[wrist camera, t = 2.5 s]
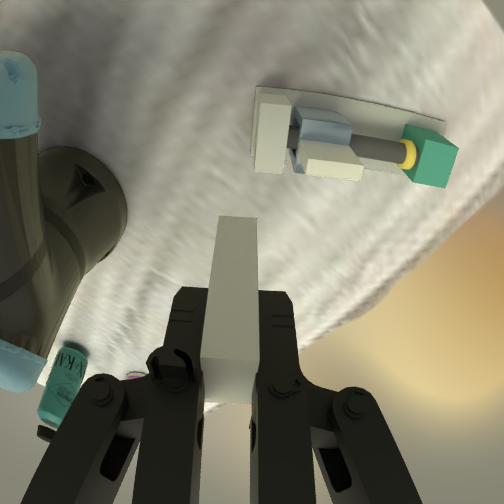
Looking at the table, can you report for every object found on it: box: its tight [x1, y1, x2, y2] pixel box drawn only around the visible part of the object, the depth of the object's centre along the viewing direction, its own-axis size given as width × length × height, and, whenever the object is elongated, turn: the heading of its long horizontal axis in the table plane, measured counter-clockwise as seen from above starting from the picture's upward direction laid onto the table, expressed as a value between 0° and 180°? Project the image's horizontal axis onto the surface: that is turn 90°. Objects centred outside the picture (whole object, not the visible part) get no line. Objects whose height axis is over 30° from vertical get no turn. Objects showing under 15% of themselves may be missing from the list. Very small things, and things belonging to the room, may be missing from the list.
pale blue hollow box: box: [289, 106, 364, 181], centre depth 24 cm, size 4×5×9 cm
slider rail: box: [250, 86, 459, 188], centre depth 27 cm, size 20×7×5 cm, turn 86°
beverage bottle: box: [37, 347, 88, 443], centre depth 45 cm, size 6×7×20 cm
